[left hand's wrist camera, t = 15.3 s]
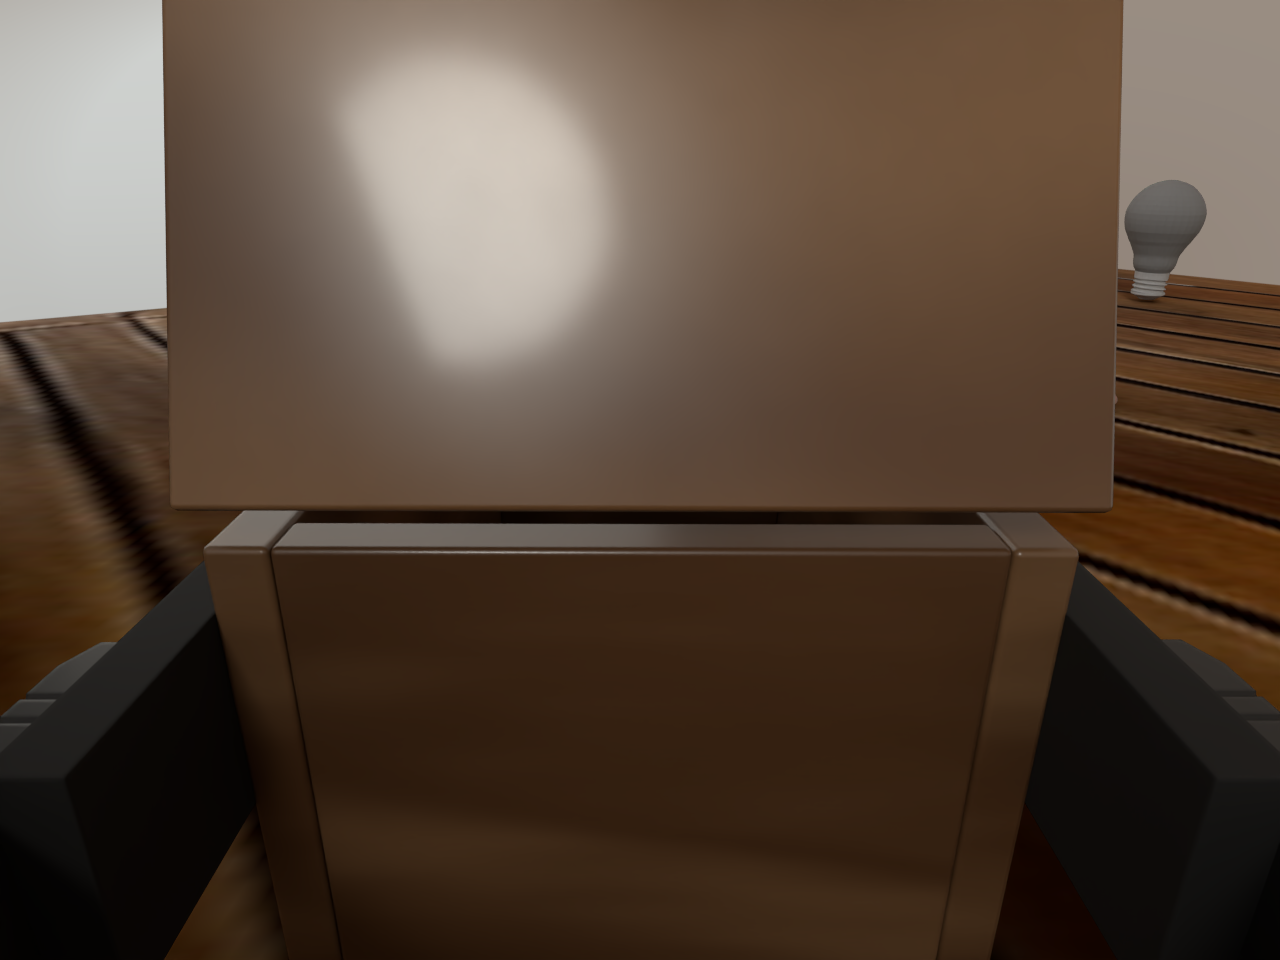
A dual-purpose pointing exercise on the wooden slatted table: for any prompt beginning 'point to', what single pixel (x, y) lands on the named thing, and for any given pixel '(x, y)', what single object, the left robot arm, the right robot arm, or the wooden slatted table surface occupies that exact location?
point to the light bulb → (1161, 232)
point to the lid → (642, 255)
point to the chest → (639, 727)
